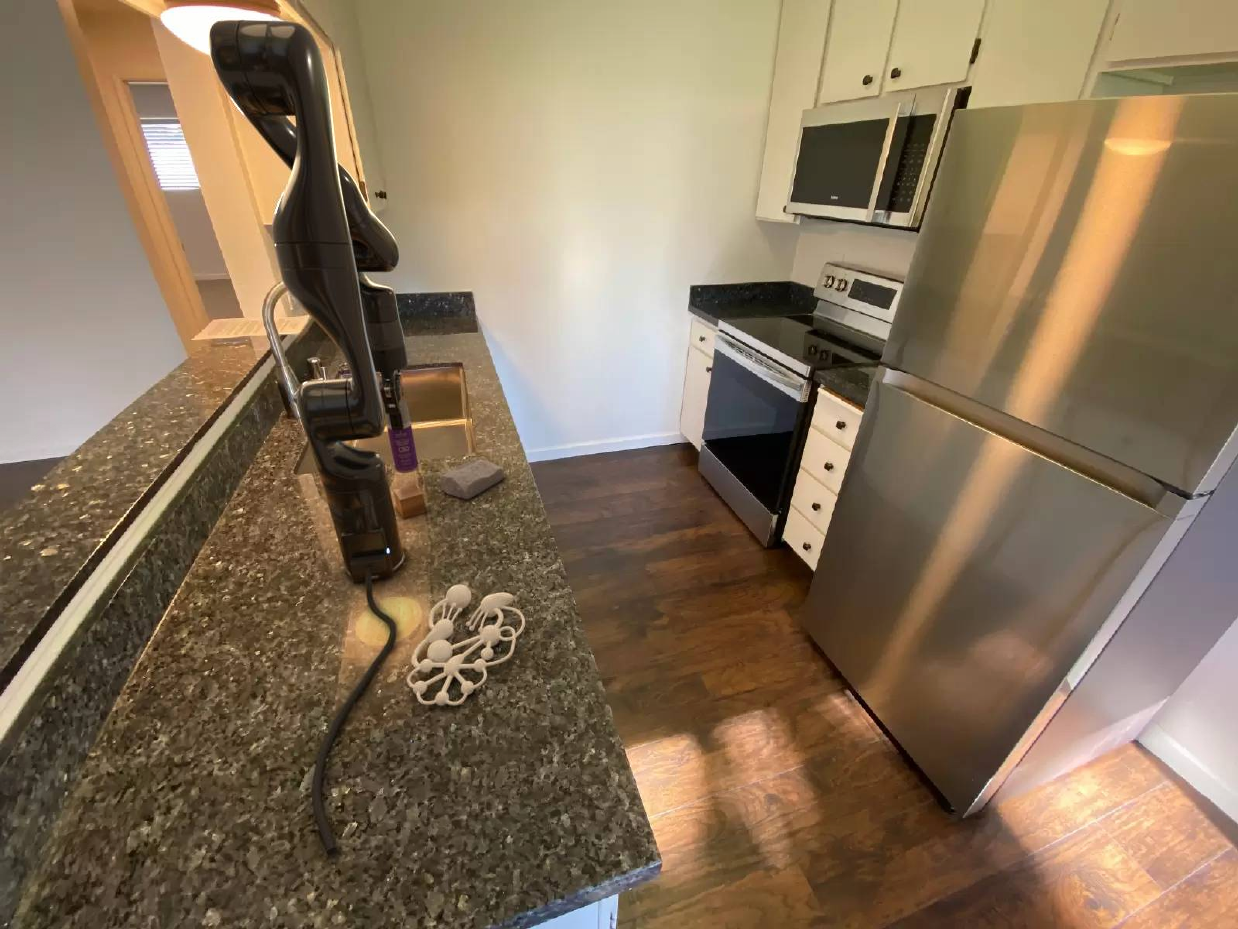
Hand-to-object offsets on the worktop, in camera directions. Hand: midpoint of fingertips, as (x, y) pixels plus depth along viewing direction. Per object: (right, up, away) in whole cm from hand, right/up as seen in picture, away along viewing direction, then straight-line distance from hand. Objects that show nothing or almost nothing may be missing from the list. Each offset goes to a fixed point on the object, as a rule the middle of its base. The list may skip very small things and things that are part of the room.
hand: (398, 424), depth 108 cm
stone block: (+13, -13, +7) cm, 20 cm away
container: (0, -9, +5) cm, 11 cm away
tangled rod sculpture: (+24, -35, -33) cm, 54 cm away
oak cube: (+4, -18, -3) cm, 18 cm away
